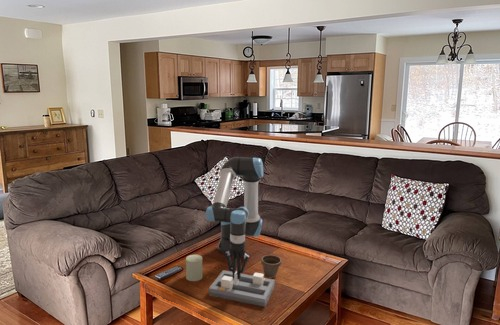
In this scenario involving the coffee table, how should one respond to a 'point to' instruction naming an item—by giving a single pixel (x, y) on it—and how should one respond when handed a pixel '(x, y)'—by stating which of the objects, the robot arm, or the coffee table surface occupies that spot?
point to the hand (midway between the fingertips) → (236, 283)
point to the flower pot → (270, 265)
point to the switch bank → (243, 289)
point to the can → (194, 267)
